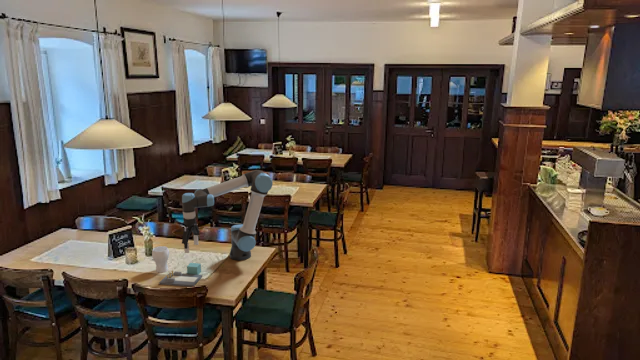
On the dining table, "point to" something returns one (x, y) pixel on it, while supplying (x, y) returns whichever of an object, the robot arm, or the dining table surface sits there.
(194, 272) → the plug block
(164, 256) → the cup
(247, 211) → the robot arm
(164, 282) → the header board
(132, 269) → the dining table surface
